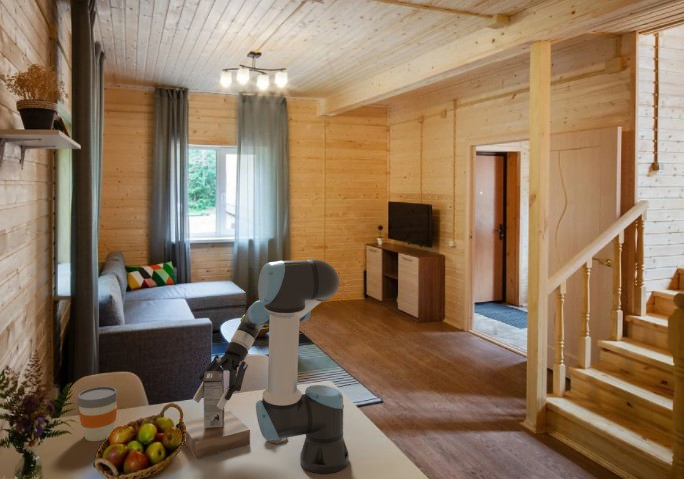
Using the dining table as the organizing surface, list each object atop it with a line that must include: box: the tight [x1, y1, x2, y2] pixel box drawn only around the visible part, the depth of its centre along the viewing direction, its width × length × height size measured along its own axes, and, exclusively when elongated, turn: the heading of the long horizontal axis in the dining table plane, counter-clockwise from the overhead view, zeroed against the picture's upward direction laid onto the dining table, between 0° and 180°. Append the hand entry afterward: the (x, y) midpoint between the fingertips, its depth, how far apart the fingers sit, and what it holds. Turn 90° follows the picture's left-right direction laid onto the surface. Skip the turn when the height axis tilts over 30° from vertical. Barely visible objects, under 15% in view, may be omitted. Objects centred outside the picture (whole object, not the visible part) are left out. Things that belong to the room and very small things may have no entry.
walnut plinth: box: [182, 410, 251, 460], centre depth 181 cm, size 18×18×5 cm
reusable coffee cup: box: [76, 386, 118, 442], centre depth 184 cm, size 13×13×15 cm
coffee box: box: [203, 371, 225, 428], centre depth 180 cm, size 9×6×16 cm
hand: (207, 404), depth 178 cm, fingers closed on coffee box, 10 cm apart
